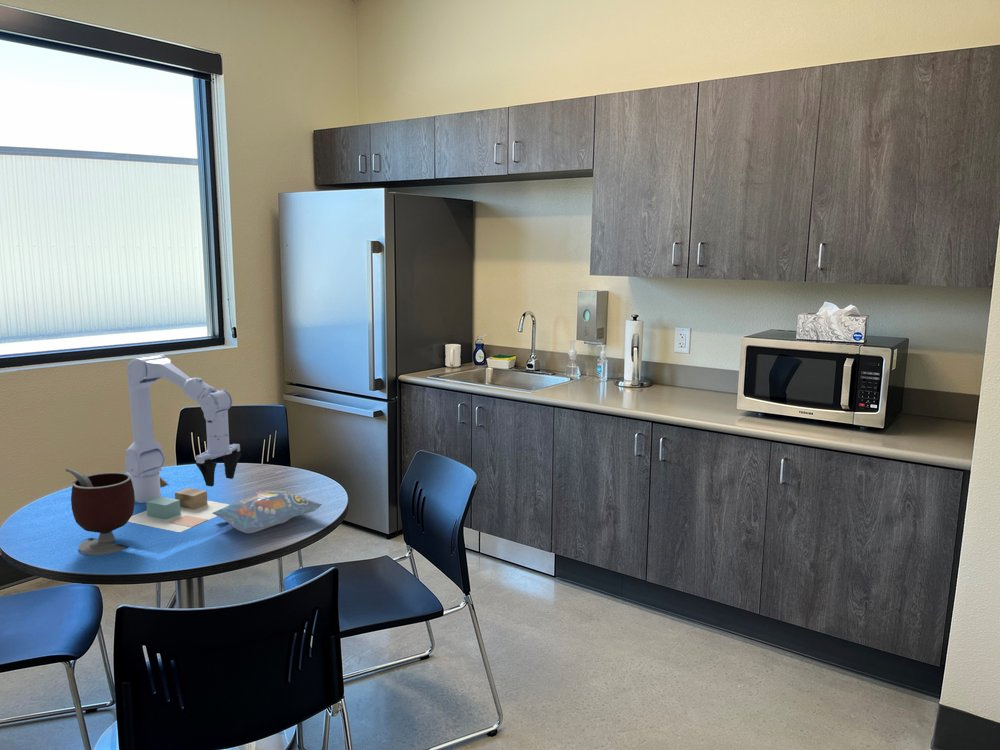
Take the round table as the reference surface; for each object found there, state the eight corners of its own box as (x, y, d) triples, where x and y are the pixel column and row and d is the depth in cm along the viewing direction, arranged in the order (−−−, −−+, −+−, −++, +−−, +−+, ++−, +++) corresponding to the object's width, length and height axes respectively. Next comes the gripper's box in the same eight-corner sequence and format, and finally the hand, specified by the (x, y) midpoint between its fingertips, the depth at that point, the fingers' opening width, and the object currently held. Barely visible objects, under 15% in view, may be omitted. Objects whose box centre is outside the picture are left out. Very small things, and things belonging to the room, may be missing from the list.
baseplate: (121, 524, 197) (120, 519, 197) (184, 500, 217) (183, 495, 217) (179, 536, 190) (179, 532, 189) (239, 510, 210) (239, 506, 209)
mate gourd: (147, 534, 190) (142, 461, 187) (121, 556, 177) (115, 477, 174) (87, 534, 190) (81, 460, 187) (56, 556, 176) (49, 476, 173)
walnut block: (175, 506, 209) (174, 492, 208) (189, 500, 213) (188, 487, 213) (194, 509, 206) (193, 496, 206) (207, 504, 211) (206, 491, 210)
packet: (322, 520, 203) (322, 491, 201) (242, 543, 186) (240, 511, 184) (290, 506, 214) (289, 478, 213) (212, 526, 198) (210, 495, 196)
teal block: (147, 515, 201) (146, 501, 200) (161, 509, 205) (160, 496, 205) (166, 519, 198) (165, 505, 198) (180, 513, 203) (179, 499, 202)
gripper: (209, 442, 193) (211, 491, 195) (247, 430, 206) (249, 476, 208) (189, 439, 195) (191, 487, 197) (228, 427, 208) (230, 473, 211)
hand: (220, 481), depth 203 cm, fingers open, 7 cm apart
